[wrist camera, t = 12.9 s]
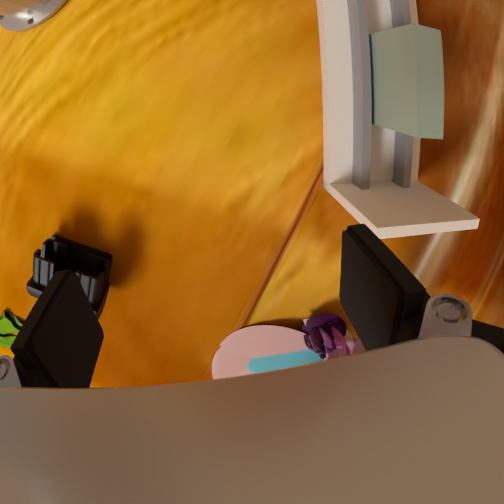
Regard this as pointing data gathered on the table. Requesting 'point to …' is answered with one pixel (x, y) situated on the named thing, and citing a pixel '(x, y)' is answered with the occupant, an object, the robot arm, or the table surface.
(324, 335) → the flower arrangement
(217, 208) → the table surface
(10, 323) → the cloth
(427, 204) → the cabinet base
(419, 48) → the door panel
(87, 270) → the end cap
